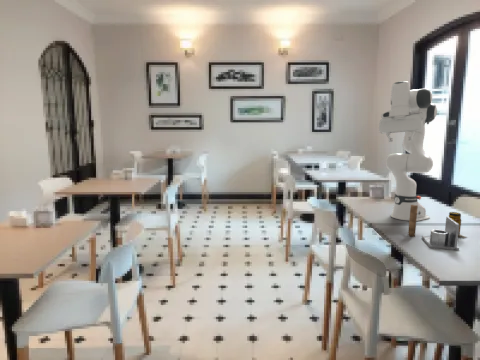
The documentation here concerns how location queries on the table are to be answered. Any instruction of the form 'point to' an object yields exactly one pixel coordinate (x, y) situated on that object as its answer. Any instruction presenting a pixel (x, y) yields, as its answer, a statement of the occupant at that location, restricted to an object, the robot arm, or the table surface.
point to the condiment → (457, 219)
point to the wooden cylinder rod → (412, 220)
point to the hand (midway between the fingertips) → (400, 141)
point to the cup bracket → (444, 236)
